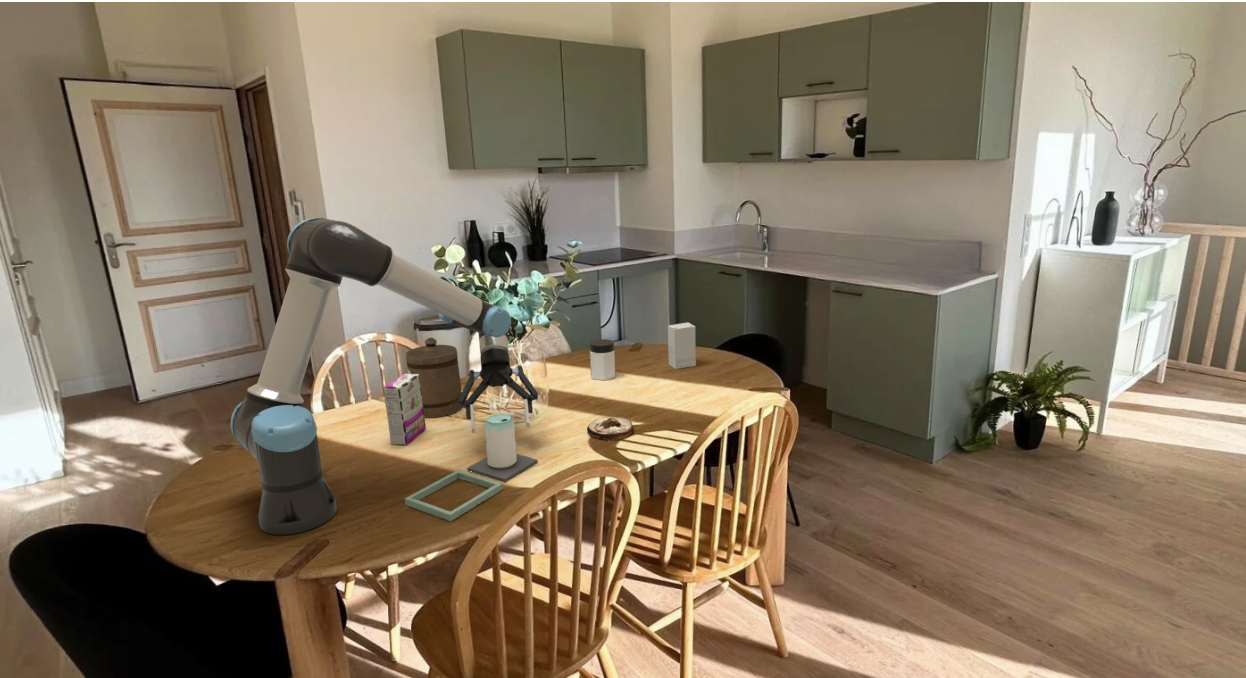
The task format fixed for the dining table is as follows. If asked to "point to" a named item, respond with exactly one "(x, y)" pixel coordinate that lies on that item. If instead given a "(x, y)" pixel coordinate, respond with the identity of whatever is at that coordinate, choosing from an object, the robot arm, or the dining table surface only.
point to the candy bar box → (404, 409)
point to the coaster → (504, 473)
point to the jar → (602, 359)
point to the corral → (450, 516)
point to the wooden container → (436, 377)
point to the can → (500, 441)
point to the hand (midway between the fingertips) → (501, 427)
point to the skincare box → (681, 345)
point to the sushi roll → (610, 428)
